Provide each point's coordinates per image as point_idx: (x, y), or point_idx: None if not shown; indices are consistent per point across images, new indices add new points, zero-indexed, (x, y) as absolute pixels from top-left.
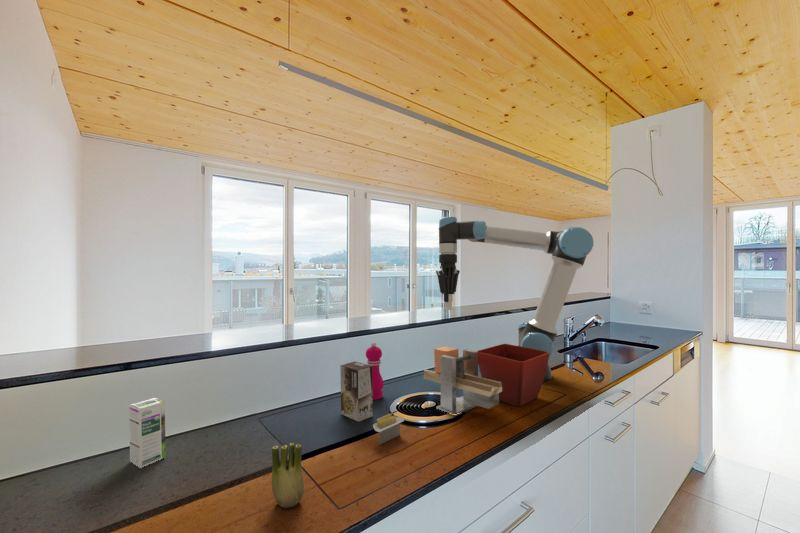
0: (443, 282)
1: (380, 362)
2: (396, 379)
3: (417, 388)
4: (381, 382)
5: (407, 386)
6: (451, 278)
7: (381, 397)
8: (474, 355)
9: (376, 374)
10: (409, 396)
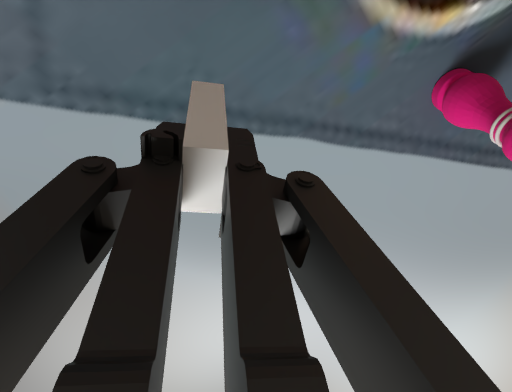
0: (396, 281)
1: (506, 113)
2: (311, 135)
3: (347, 40)
4: (484, 79)
5: (346, 75)
6: (153, 349)
7: (456, 69)
8: None
9: (505, 97)
10: (417, 15)
